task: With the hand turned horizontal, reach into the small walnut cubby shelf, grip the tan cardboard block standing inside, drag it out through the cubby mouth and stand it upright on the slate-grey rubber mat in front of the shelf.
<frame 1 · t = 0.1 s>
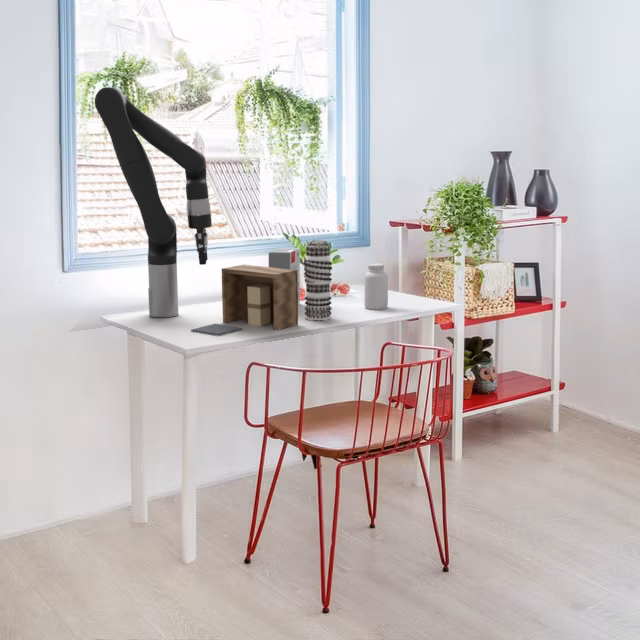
hand: (203, 262, 313), 17 cm above the table, tool pointing down, fingers open, 8 cm apart
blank: (259, 323, 301), on the table
pill bottle: (376, 308, 326), on the table
cubby: (259, 323, 300), on the table
hard drive box: (284, 308, 328), on the table
mat: (216, 330, 291), on the table
decorative candle: (318, 318, 309), on the table
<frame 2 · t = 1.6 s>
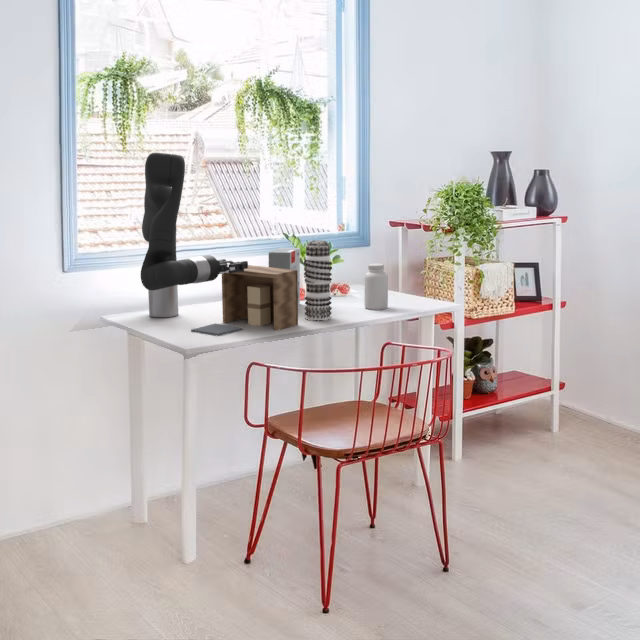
hand: (235, 263, 288), 20 cm above the table, tool horizontal, fingers open, 8 cm apart
nothing on the table moved.
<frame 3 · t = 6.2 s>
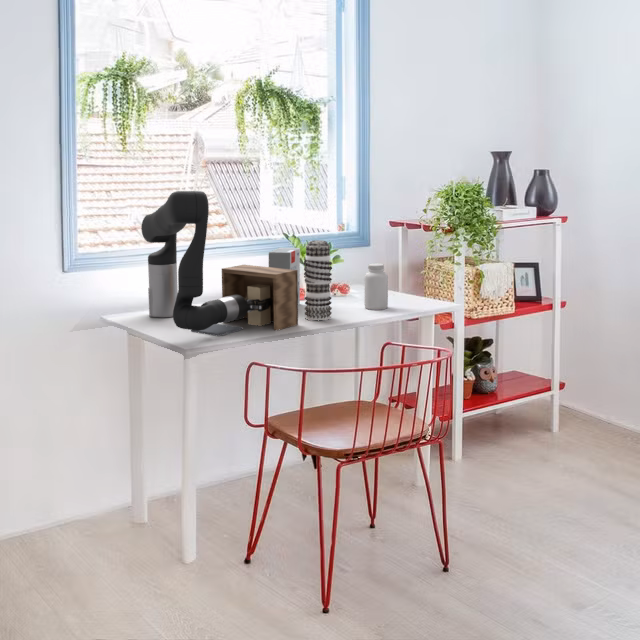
hand: (264, 300, 301), 7 cm above the table, tool horizontal, fingers closed on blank, 5 cm apart
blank: (259, 323, 300), on the table, touching gripper
everything else where it was.
when the fingers open (8 cm above the table, at t = 13.0 s): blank stays where it is, resting on mat.
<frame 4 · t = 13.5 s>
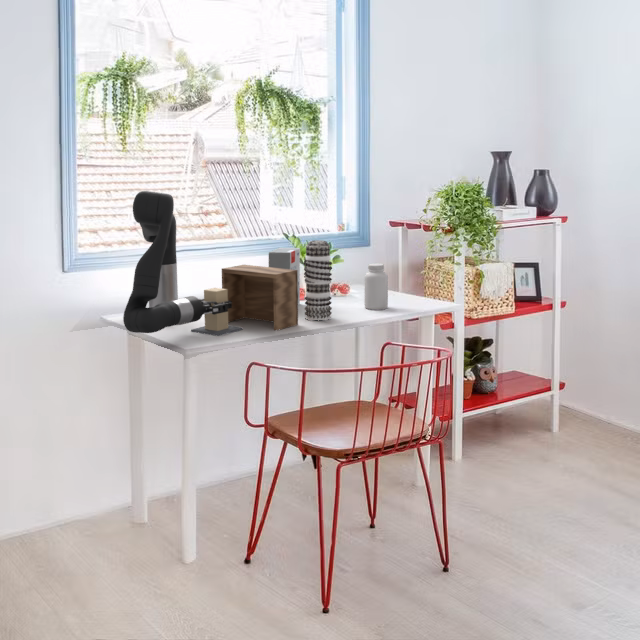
hand: (220, 302, 291), 8 cm above the table, tool horizontal, fingers open, 8 cm apart
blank: (216, 328, 291), point 1 cm above the table, touching mat
everything else where it was.
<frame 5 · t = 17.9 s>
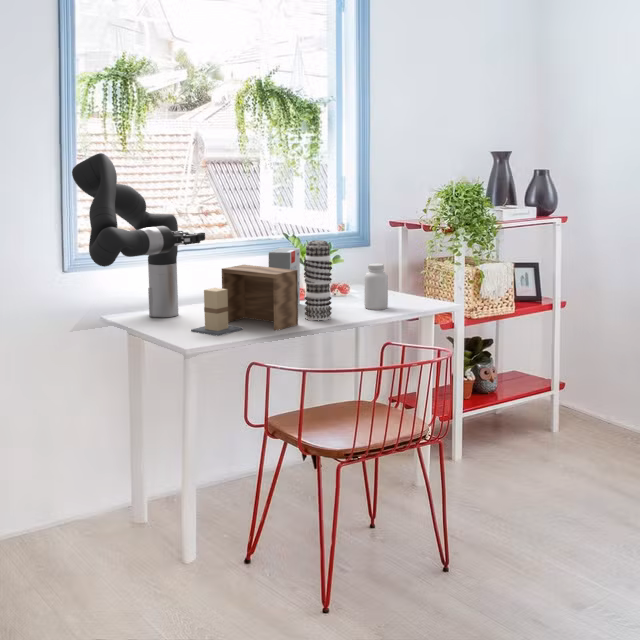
hand: (193, 235, 276), 30 cm above the table, tool horizontal, fingers open, 8 cm apart
nothing on the table moved.
at the end: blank inside the target area on the mat (0.1 cm from its centre), point 0.6 cm above the mat's base; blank tilted 0°; the gripper is holding nothing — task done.
